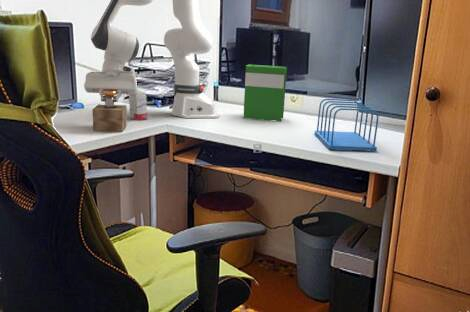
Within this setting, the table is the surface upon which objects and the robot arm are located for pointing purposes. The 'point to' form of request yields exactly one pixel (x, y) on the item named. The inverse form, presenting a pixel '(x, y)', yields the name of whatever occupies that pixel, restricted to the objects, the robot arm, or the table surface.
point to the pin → (109, 98)
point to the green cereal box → (264, 92)
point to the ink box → (138, 105)
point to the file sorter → (346, 138)
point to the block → (109, 118)
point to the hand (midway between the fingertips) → (109, 100)
